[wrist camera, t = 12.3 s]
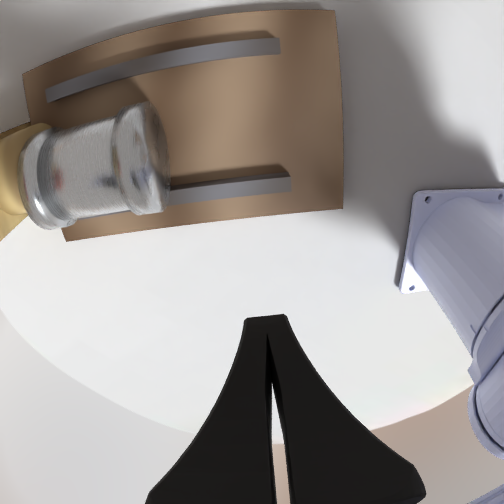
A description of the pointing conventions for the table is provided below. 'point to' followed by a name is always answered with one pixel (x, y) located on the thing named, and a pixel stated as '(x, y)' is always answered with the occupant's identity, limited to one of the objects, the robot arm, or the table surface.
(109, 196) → the pipe coupling
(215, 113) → the slider rig
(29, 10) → the table surface
